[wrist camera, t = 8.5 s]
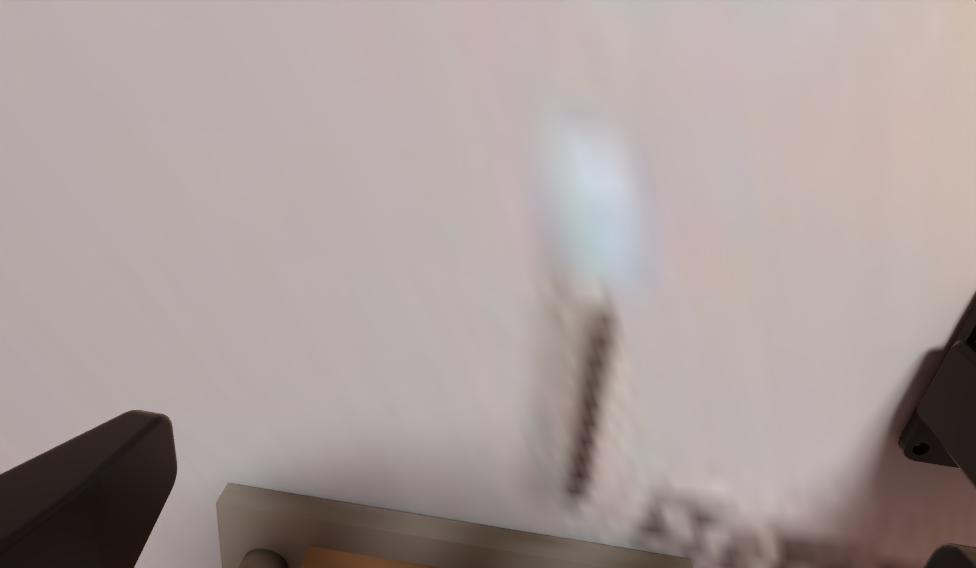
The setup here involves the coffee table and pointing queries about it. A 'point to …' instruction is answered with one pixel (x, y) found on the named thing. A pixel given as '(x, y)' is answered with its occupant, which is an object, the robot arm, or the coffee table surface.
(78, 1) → the coffee table surface
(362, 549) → the stacked plates with bolts
